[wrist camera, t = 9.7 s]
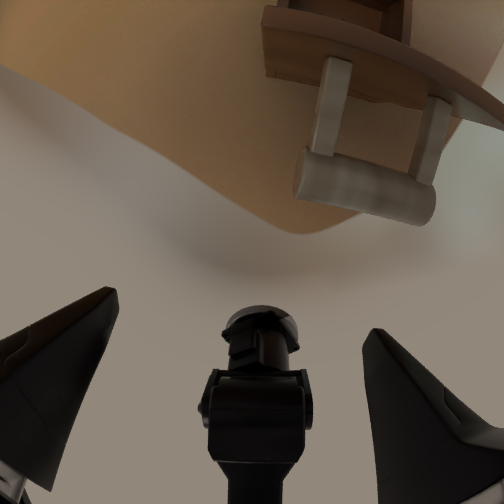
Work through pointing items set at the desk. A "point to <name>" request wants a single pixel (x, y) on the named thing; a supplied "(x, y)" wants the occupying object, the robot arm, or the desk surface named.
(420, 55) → the lid
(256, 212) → the desk surface
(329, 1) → the chest
